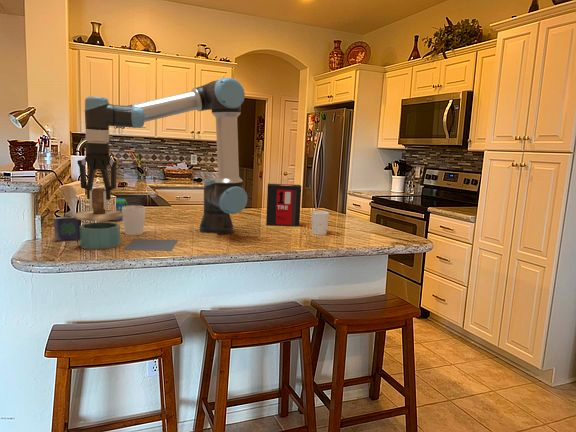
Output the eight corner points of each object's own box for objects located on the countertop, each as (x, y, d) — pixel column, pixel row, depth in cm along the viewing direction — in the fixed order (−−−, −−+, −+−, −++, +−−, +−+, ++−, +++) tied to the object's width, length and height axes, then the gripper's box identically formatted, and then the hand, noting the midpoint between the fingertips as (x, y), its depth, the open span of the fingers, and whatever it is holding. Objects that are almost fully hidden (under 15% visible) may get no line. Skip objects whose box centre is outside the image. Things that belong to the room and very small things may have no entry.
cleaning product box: (266, 225, 211) (267, 185, 208) (266, 222, 220) (267, 183, 216) (299, 226, 212) (301, 186, 208) (298, 223, 220) (300, 184, 217)
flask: (54, 241, 160) (53, 213, 158) (54, 240, 162) (53, 212, 161) (81, 240, 165) (81, 212, 163) (81, 238, 167) (80, 211, 165)
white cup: (330, 233, 199) (331, 212, 197) (324, 236, 192) (325, 214, 190) (314, 231, 202) (315, 210, 200) (308, 234, 195) (309, 212, 193)
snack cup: (121, 216, 216) (121, 197, 214) (135, 219, 210) (134, 199, 208) (93, 220, 203) (92, 199, 201) (106, 223, 197) (106, 202, 195)
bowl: (123, 243, 163) (123, 222, 161) (113, 251, 150) (113, 229, 148) (88, 242, 161) (87, 221, 160) (75, 251, 148) (74, 228, 147)
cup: (137, 238, 171) (137, 209, 169) (117, 236, 172) (117, 207, 170) (149, 234, 179) (149, 206, 177) (130, 232, 181) (129, 204, 179)
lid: (128, 213, 162) (127, 187, 161) (116, 221, 147) (115, 192, 145) (84, 212, 160) (83, 185, 159) (67, 220, 145) (66, 190, 143)
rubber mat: (178, 242, 168) (178, 239, 168) (171, 253, 151) (171, 250, 151) (133, 241, 166) (133, 239, 166) (122, 252, 149) (121, 249, 149)
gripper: (125, 143, 154) (126, 207, 158) (76, 141, 152) (78, 206, 156) (119, 143, 146) (120, 210, 150) (67, 141, 144) (70, 209, 148)
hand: (99, 208), depth 153 cm, fingers closed on lid, 4 cm apart
